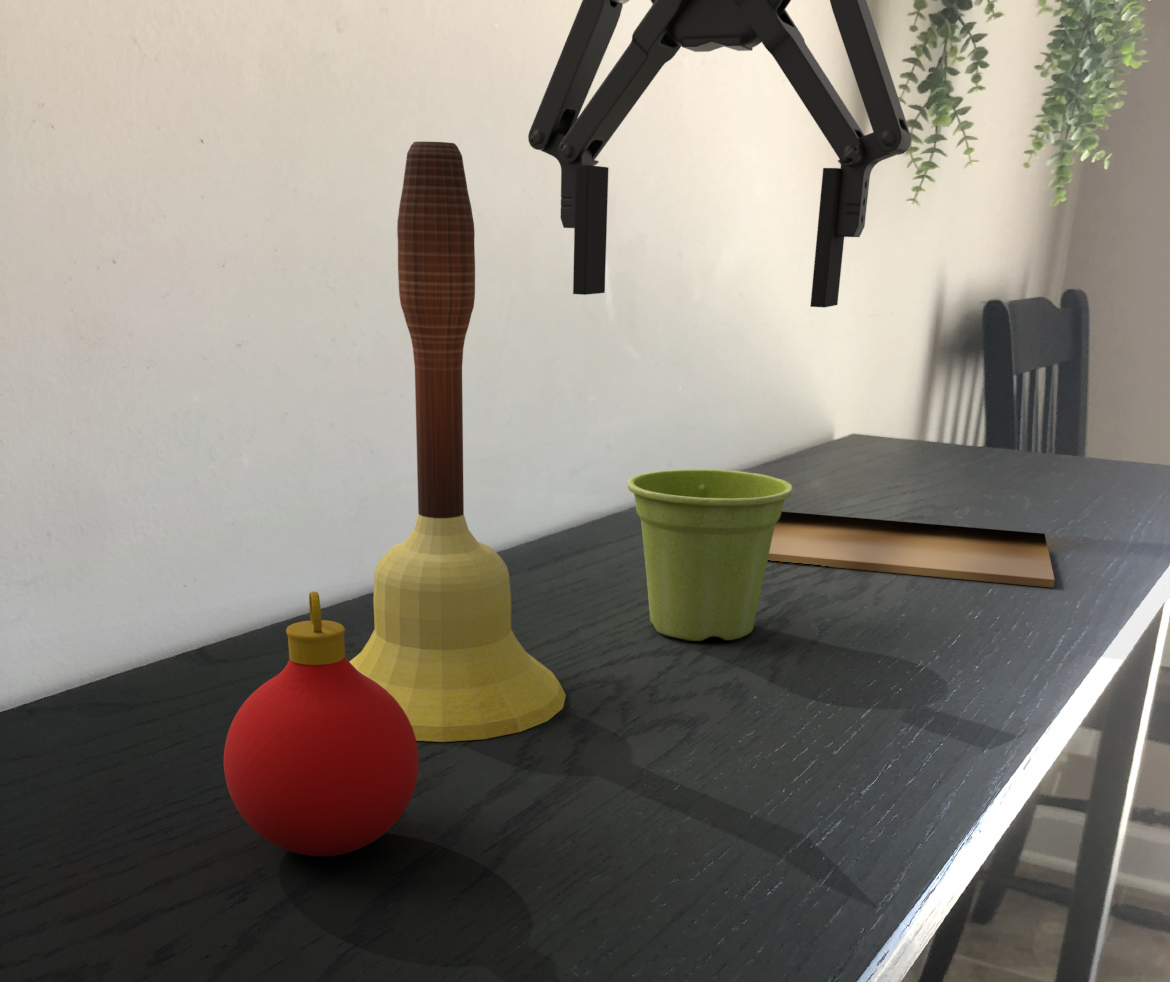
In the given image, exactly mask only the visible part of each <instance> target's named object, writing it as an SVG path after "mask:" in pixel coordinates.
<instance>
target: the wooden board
mask: <svg viewBox="0 0 1170 982" xmlns="http://www.w3.org/2000/svg"><path fill="white" fill-rule="evenodd" d="M1049 551H1050V550H1049V546H1048V543H1047V537H1046V533H1044V532H1031V531H1020V530H1008V529H1007V530H1006V529H995V528H982V527H973V526H972V527H970V526H959V525H948V524H935V523H924V522H923V523H922V522H912V521H902V520H901V521H900V520H888V519H877V518H867V517H866V518H863V517H853V516H839V515H828V514H817V513H805V512H795V511H794V512H793V511H782V512H781V516H780V518H779V520H778V521H777V522H776V524H775V528H774V532H773V537H772V541H771V546H770V551H769V555H768V560H772V561H783V562H793V563H803V564H815V565H821V566H820V567H825V566H828V567H827V568H837V569H846V570H847V569H848V570H857V571H858V570H859V571H868V572H881V573H888V574H889V573H890V574H898V575H899V574H901V575H911V576H920V577H930V578H931V577H933V578H943V579H953V580H964V581H975V582H986V583H995V584H996V583H997V584H1008V585H1018V586H1028V587H1037V588H1038V587H1039V588H1050V589H1053V588H1054V587H1055V583H1056V579H1055V575H1054V570H1053V565H1052V561H1051V556H1050V552H1049ZM793 563H792V564H793ZM803 564H802V565H803Z"/></svg>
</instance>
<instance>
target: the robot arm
mask: <svg viewBox="0 0 1170 982" xmlns="http://www.w3.org/2000/svg"><path fill="white" fill-rule="evenodd" d="M629 1H630V0H582V1H581V3H580V6H579V8H578V11H577V12H576V15H575V18H574V21H573V23H572V25H571V27H570V29H569V33H568V35H567V37H566V40H565V42H564V45H563V48H562V50H561V53H560V55H559V58H558V59H557V63H556V64H555V67H554V70H553V72H552V75H551V77H550V79H549V82H548V84H547V87H546V89H545V92H544V94H543V97H542V99H541V102H540V104H539V107H538V109H537V111H536V114H535V117H534V119H533V121H532V124H531V126H530V129H529V132H528V136H527V138H528V143H529V145H530V147H531V148H532V149H534V150H537V151H541V152H543V153H545V154H548V155H549V156H551V157H553V158H555V159H556V160H557V161H558V163H559V166H560V221H561V225H562V227H563V228H564V229H574V233H573V275H572V276H573V277H572V278H573V279H572V281H573V282H572V294H573V295H581V296H582V295H583V296H586V295H588V296H589V295H597V294H605V292H606V265H607V263H606V262H607V258H606V257H607V232H608V231H607V229H608V200H609V199H608V198H609V197H608V196H609V167H608V166H602V165H601V166H599V165H598V164H599V163H600V161H599V160H597V157H598V156H599V155H600V153H601V152H602V151H603V149H604V148H605V146H606V145H607V144H608V142H609V141H610V139H611V138H612V137H613V136H614V134H615V133H616V131H617V130H618V128H619V127H620V126H621V124H622V123H623V122H624V121H625V119H626V117H627V116H628V115H629V113H630V112H631V111H632V110H633V108H634V107H635V105H636V104H637V102H638V101H639V100H640V98H641V97H642V96H643V94H644V92H645V91H646V90H647V89H648V87H649V86H650V84H651V83H652V82H653V81H654V79H655V78H656V77H657V75H658V74H659V72H660V70H661V69H662V68H663V66H664V65H665V64H666V63H668V62H670V60H672V59H673V58H674V57H675V56H676V54H677V53H678V51H680V49H681V48H684V49H686V50H689V51H691V52H695V53H704V52H705V53H706V52H707V53H708V52H713V51H715V50H718V49H721V48H728V49H730V50H734V51H736V52H745V51H746V52H747V51H749V52H751V51H753V50H754V49H753V48H755V47H757V46H758V45H760V44H761V43H762V45H763V47H764V48H765V49H766V50H767V51H768V52H769V54H771V56H772V57H773V59H774V60H775V62H776V63H777V65H778V66H779V69H781V71H782V73H783V74H784V76H785V78H786V79H787V80H788V82H789V83H790V85H791V86H792V88H793V89H794V92H795V93H796V94H797V96H798V97H799V99H800V101H801V102H802V104H803V105H804V106H805V108H806V109H807V112H808V113H809V114H810V116H811V118H812V119H813V121H814V122H815V124H816V125H817V127H818V128H819V130H820V131H821V133H822V134H823V136H824V137H825V139H826V140H827V142H828V144H829V146H831V148H832V150H833V151H834V153H835V154H836V156H837V157H838V160H837V162H838V163H839V165H840V167H822V176H821V188H820V197H819V210H818V221H817V231H816V243H815V250H814V251H815V252H814V263H813V264H814V265H813V275H812V284H811V285H812V286H811V295H810V296H811V297H810V308H830V307H834V306H838V304H839V303H838V302H839V292H840V284H841V273H842V263H843V255H844V254H843V253H844V245H845V244H844V243H845V238H860V237H861V235H862V233H863V231H864V229H865V227H866V215H867V206H868V197H869V189H870V181H871V180H870V179H871V173H872V171H873V169H874V167H875V166H876V165H877V164H878V163H880V162H882V161H884V160H888V159H890V158H892V157H895V156H901V155H903V154H905V153H906V152H907V151H908V150H909V148H910V147H911V145H912V134H911V131H910V128H909V125H908V123H907V120H906V117H905V114H904V110H903V107H902V105H901V101H900V99H899V96H898V93H897V89H896V87H895V83H894V81H893V78H892V74H891V72H890V68H889V66H888V61H887V58H886V56H885V54H884V50H883V47H882V45H881V41H880V38H879V35H878V31H877V28H876V26H875V22H874V20H873V16H872V14H871V11H870V7H869V5H868V1H867V0H829V2H830V6H831V10H832V13H833V16H834V19H835V22H836V25H837V27H838V31H839V34H840V38H841V40H842V43H843V46H844V48H845V52H846V56H847V58H848V61H849V64H850V67H851V69H852V73H853V76H854V79H855V82H856V85H857V87H858V91H859V93H860V97H861V100H862V102H863V105H864V109H865V111H866V114H867V118H868V120H869V123H870V127H871V130H872V132H870V133H868V134H865V133H864V132H863V130H862V129H861V127H860V126H859V123H857V121H856V120H855V118H854V116H853V115H852V113H851V111H849V109H848V107H847V106H846V104H845V103H844V101H843V100H842V98H841V97H840V94H839V93H838V91H837V90H836V89H835V87H834V85H833V84H832V82H831V81H830V79H829V77H828V76H827V75H826V73H825V72H824V70H823V68H822V66H821V65H820V63H819V62H818V60H817V59H816V58H815V55H814V54H813V53H812V52H811V49H810V48H809V47H808V45H807V43H806V41H805V38H804V36H803V35H802V33H801V31H800V30H799V28H798V27H797V25H796V24H795V22H794V21H793V19H792V18H791V16H790V14H789V13H788V11H787V10H786V9H787V7H788V6H789V4H790V3H791V1H792V0H649V1H650V2H651V4H652V5H651V6H650V8H649V9H648V11H647V12H646V14H645V15H644V17H642V19H641V20H640V22H639V23H638V25H637V26H636V28H635V30H633V33H632V34H631V40H630V43H629V45H628V46H627V48H626V49H625V50H624V52H623V53H622V54H621V56H620V57H619V59H618V60H617V62H616V63H615V65H613V67H612V69H610V72H608V74H607V76H606V77H605V79H604V80H603V81H602V83H601V84H600V86H599V87H598V89H597V90H596V91H595V93H594V94H593V96H592V97H591V99H590V100H589V101H588V103H587V104H586V105H585V107H584V109H583V106H584V104H585V102H586V99H587V97H588V94H589V92H590V90H591V87H592V86H593V85H592V84H593V82H594V80H595V78H596V75H597V73H598V71H599V68H600V65H601V63H602V61H603V59H604V57H605V54H606V52H607V50H608V47H609V44H610V43H611V40H612V37H613V35H614V33H615V30H616V27H617V25H618V23H619V20H620V18H621V13H622V10H623V6H624V5H625V4H628V3H629Z"/></svg>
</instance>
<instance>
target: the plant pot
mask: <svg viewBox="0 0 1170 982" xmlns="http://www.w3.org/2000/svg"><path fill="white" fill-rule="evenodd" d="M627 489H628V490H629V492H631V493H632V494H633V496H634V504H635V511H636V514H637V515H638V517H639V518H640V525H641V535H642V544H643V545H642V546H643V555H644V564H645V575H646V576H645V577H646V584H647V585H646V586H647V597H648V610H649V621H650V624H651V625H652V626H653V627H654V629H655V631H656V632H657V633H659V634H661V635H663V636H666V637H668V638H670V637H671V638H673V639H674V638H675V639H679V640H683V641H687V642H702V641H704V640H707V639H708V638H715V637H716V638H718V639H719V638H720V639H721V640H724V641H733V640H737V639H740V638H743V637H746V636H748V635H749V634H751V633H752V632H753V629H754V625H755V621H756V617H757V613H758V607H759V602H760V596H761V593H762V592H761V591H762V587H763V583H764V579H765V574H766V570H767V565H768V561H767V560H768V555H769V551H770V546H771V541H772V537H773V532H774V528H775V524H776V522H777V521H778V520H779V518H780V516H781V512H783V507H784V503H785V499H788V498H790V496H791V495H792V493H793V485H792V484H791V483H789V482H788V481H787V480H784V479H781V478H777V477H773V476H770V475H767V474H766V475H765V474H762V473H756V472H755V473H754V472H749V471H741V470H728V469H727V470H726V469H713V468H712V469H711V468H709V469H706V468H705V469H704V468H702V469H701V468H685V469H684V468H683V469H668V470H667V469H666V470H657V471H648V472H643V473H640V474H636V475H633V476H631V477H630V478H629V479H628V480H627Z"/></svg>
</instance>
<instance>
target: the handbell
mask: <svg viewBox="0 0 1170 982" xmlns="http://www.w3.org/2000/svg"><path fill="white" fill-rule="evenodd" d="M405 158H406V160H405V167H404V175H403V181H402V182H403V183H402V189H401V194H400V199H399V205H398V215H397V221H396V223H397V224H396V225H397V226H396V234H397V235H396V237H397V276H398V279H397V280H398V296H399V304H400V307H401V309H402V313H403V317H404V321H405V324H406V327H407V331H408V334H409V337H410V340H411V345H412V354H413V362H414V364H413V365H414V389H415V390H414V392H415V393H414V395H415V397H414V398H415V433H416V434H415V435H416V437H415V438H416V472H417V474H416V475H417V504H418V505H417V512H418V514H417V517H416V520H415V524H414V528H413V530H412V532H411V533H410V534H409V536H408V537H407V538H406V540H405V541H403V542H400V543H398V544H395V545H393V546H392V547H390V549H389V550H388V551H387V552H386V553H385V554H384V555H383V556H382V558H381V559H380V560H379V561H378V562H377V565H376V566H375V570H374V574H373V575H374V576H373V577H374V578H373V600H372V601H373V619H374V622H373V623H374V629H373V631H372V633H371V635H370V637H369V639H368V640H367V642H366V644H365V645H364V647H363V648H362V649H361V651H360V652H359V653H358V654H356V656H355V657H353V658H352V659H350V660H348V661H349V662H350V663H351V664H352V665H353V666H354V667H355V668H356V669H357V670H358V671H359V672H360V673H362V674H363V675H365V676H367V677H368V678H370V679H372V680H373V681H375V682H376V683H378V684H379V685H380V686H382V687H383V688H384V689H386V690H387V691H388V692H389V693H390V694H391V695H392V696H393V697H394V699H395V700H396V701H397V702H398V703H399V705H400V706H401V708H402V709H403V710H404V712H405V714H406V715H407V717H408V719H409V721H410V724H411V726H412V728H413V731H414V734H415V738H416V742H436V743H446V742H447V743H449V742H459V741H460V742H462V741H476V740H477V741H478V740H479V741H480V740H487V739H493V738H496V737H502V736H506V735H511V734H516V733H521V732H523V731H527V730H528V729H531V728H534V727H536V726H538V725H541V724H543V723H547V722H548V721H550V720H551V719H552V718H553V717H554V716H555V715H557V714H558V713H559V712H561V711H562V710H563V709H564V705H565V700H566V697H567V694H566V692H565V691H564V689H563V687H562V685H561V683H560V681H559V680H558V679H557V677H556V675H555V674H554V673H553V671H551V670H550V669H549V668H548V667H546V666H545V665H544V664H542V663H541V662H540V661H539V660H538V659H535V658H534V657H533V656H532V655H531V654H529V652H527V651H526V650H525V649H524V647H523V646H522V644H521V643H520V641H519V640H518V638H517V637H516V636H515V634H514V632H513V629H512V594H511V580H510V572H509V569H508V568H509V567H508V566H507V565H506V562H505V561H504V560H503V558H502V557H501V556H500V555H499V553H497V551H496V550H495V549H493V548H492V547H491V546H489V545H488V544H485V543H483V542H480V541H478V540H477V539H476V538H475V536H474V535H473V533H472V532H471V531H470V530H469V527H468V523H467V520H466V517H465V516H466V515H465V512H464V511H465V510H464V509H465V508H464V507H465V506H464V505H465V502H464V501H465V500H464V421H463V420H464V419H463V417H464V416H463V415H464V414H463V413H464V412H463V405H464V404H463V403H464V402H463V360H464V346H465V340H466V335H467V333H468V329H469V325H470V322H471V317H472V314H473V311H474V308H475V298H476V256H475V255H476V253H475V222H474V216H473V209H472V204H471V203H472V202H471V200H470V193H469V189H468V183H467V178H466V171H465V166H464V159H463V154H462V152H461V150H460V148H459V146H458V145H457V144H456V143H454V142H445V141H414V142H412V143H411V145H410V147H409V149H408V151H407V153H406V157H405Z"/></svg>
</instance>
